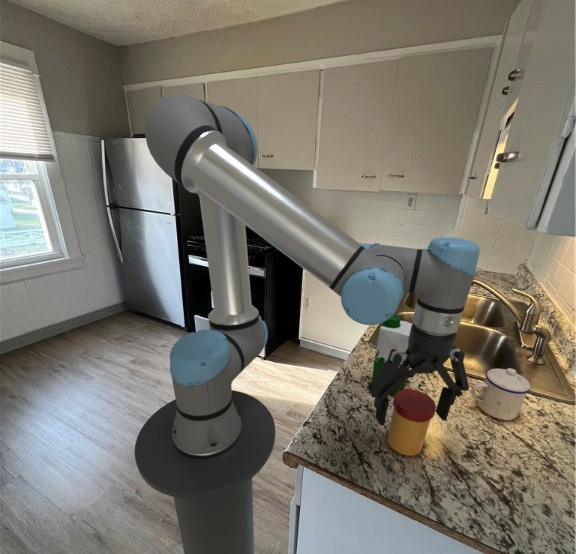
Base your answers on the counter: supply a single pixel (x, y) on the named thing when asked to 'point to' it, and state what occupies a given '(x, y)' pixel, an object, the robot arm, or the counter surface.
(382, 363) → the milk carton
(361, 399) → the counter surface
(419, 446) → the jam jar
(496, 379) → the teacup with lid
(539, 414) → the counter surface
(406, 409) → the jam lid
